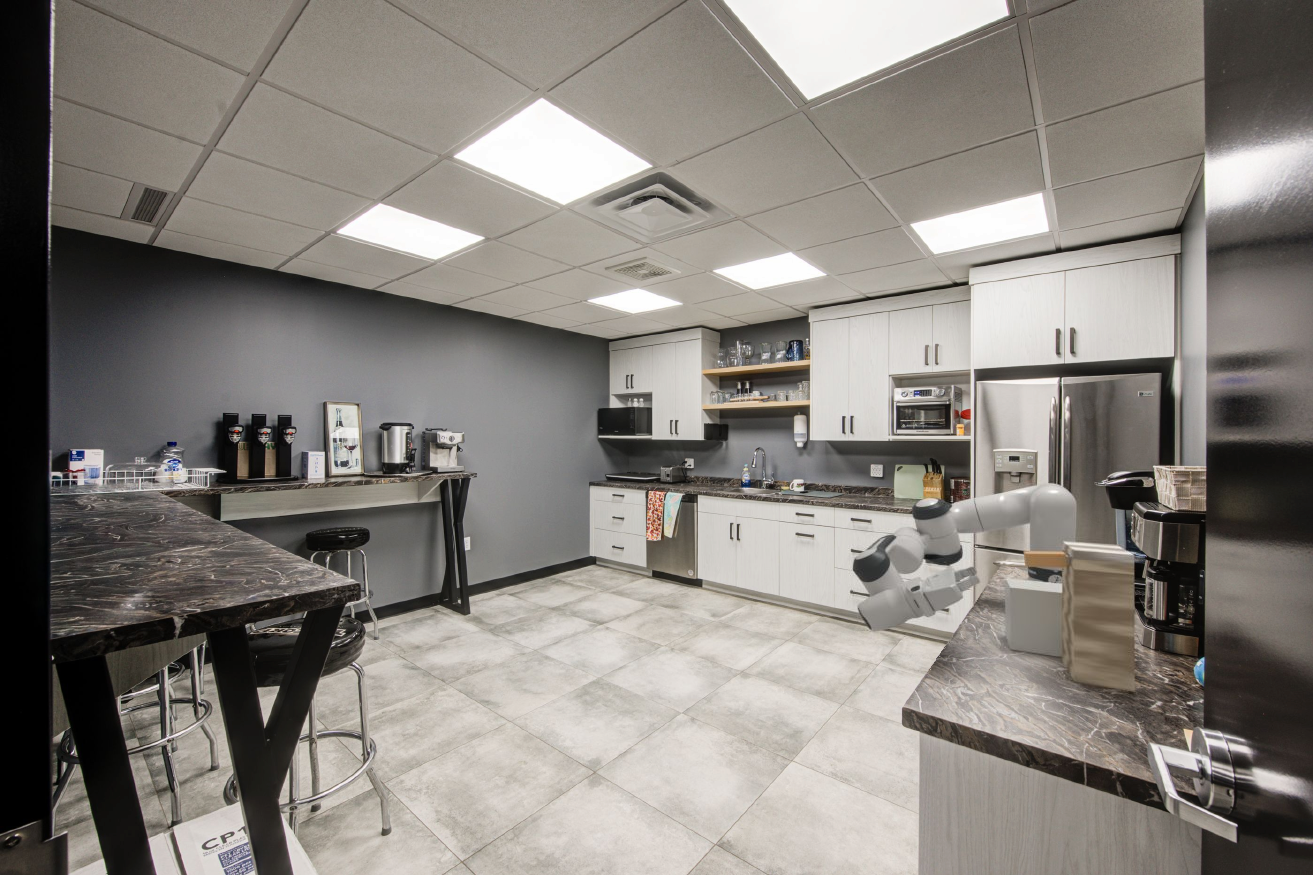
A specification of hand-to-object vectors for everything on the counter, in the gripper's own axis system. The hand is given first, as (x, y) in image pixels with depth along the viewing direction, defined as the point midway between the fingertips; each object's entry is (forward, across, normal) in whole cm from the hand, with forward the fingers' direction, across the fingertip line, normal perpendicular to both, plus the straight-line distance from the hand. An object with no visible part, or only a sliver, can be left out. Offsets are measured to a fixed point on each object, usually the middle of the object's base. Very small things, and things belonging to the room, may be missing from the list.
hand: (976, 573), depth 129 cm
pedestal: (+3, -14, -25) cm, 29 cm away
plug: (+16, 0, -5) cm, 17 cm away
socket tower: (+10, 0, -29) cm, 30 cm away
